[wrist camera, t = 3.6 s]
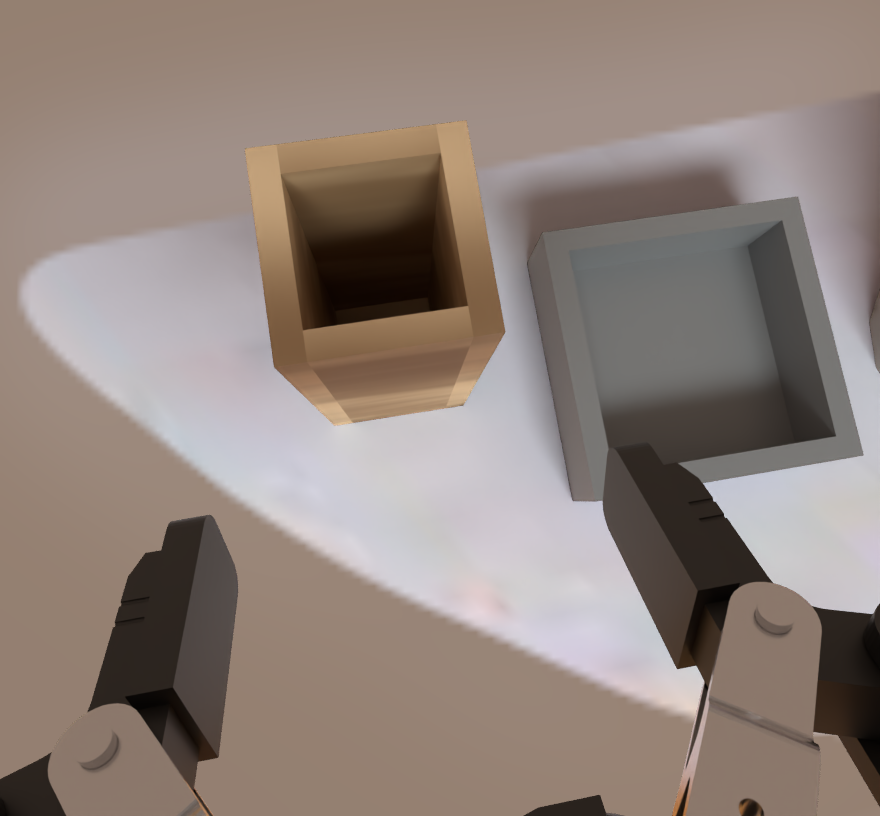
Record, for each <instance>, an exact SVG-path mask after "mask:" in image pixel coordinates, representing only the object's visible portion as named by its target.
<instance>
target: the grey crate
mask: <svg viewBox="0 0 880 816" xmlns="http://www.w3.org/2000/svg"><path fill="white" fill-rule="evenodd" d="M527 265H528V271H529V276H530V281H531V286H532V291H533V297H534V302H535V307H536V312H537V317H538V323H539V328H540V333H541V338H542V343H543V349H544V354H545V359H546V364H547V369H548V375H549V380H550V385H551V390H552V395H553V401H554V406H555V411H556V416H557V422H558V427H559V432H560V437H561V442H562V448H563V453H564V458H565V463H566V468H567V474H568V479H569V484H570V489H571V494H572V500H573V501H601V500H603V492H604V482H605V472H606V462H607V453H608V450H609V449H610V448H613V447H618V446H624V445H630V444H636V443H642V442H647V443H649V444H650V445H651V447H652V448H653V449H654V451H655V452H656V454H657V456H658V457H659V459H660V460H661V462H662V463H663V465H665V464H671V463H676V462H677V463H678V464H680V465H681V466H683V467H684V468H685V469H687V470H688V471H690V472H691V473H692V474H694V475H695V476H697V477H698V478H699V479H700V480H701V482H702V483H706V482H712V481H718V480H723V479H729V478H735V477H741V476H747V475H752V474H758V473H764V472H770V471H776V470H782V469H787V468H793V467H799V466H805V465H811V464H816V463H822V462H828V461H834V460H840V459H846V458H851V457H857V456H863V451H862V447H861V443H860V439H859V435H858V431H857V427H856V423H855V419H854V415H853V411H852V407H851V404H850V400H849V396H848V392H847V388H846V384H845V380H844V376H843V372H842V368H841V364H840V360H839V356H838V352H837V349H836V345H835V341H834V337H833V333H832V329H831V325H830V321H829V317H828V313H827V309H826V305H825V301H824V297H823V294H822V290H821V286H820V282H819V278H818V274H817V270H816V266H815V262H814V258H813V254H812V250H811V246H810V242H809V239H808V235H807V231H806V227H805V223H804V219H803V215H802V211H801V207H800V203H799V199H798V197H791V198H784V199H777V200H770V201H763V202H756V203H749V204H742V205H735V206H727V207H720V208H713V209H706V210H699V211H692V212H685V213H678V214H671V215H664V216H656V217H649V218H642V219H635V220H628V221H621V222H614V223H607V224H600V225H592V226H585V227H578V228H571V229H564V230H557V231H550V232H543V233H542V235H541V237H540V239H539V241H538V243H537V245H536V247H535V249H534V251H533V253H532V255H531V257H530V259H529V261H528V263H527Z"/></svg>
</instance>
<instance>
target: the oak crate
mask: <svg viewBox="0 0 880 816" xmlns="http://www.w3.org/2000/svg"><path fill="white" fill-rule="evenodd" d="M245 154H246V162H247V169H248V176H249V184H250V191H251V198H252V206H253V214H254V221H255V229H256V236H257V244H258V251H259V259H260V266H261V274H262V281H263V288H264V296H265V303H266V311H267V318H268V326H269V333H270V341H271V348H272V356H273V363H274V368H276V369H277V370H278V371H279V372H280V373H281V374H282V375H283V376H284V377H285V378H286V379H287V380H288V381H289V382H290V383H291V384H292V385H293V386H294V387H295V388H296V389H297V390H298V391H299V392H300V393H301V394H302V395H303V396H304V397H305V398H307V399H308V400H309V401H310V402H311V403H312V404H313V405H314V406H315V407H316V408H317V409H318V410H319V411H320V412H321V413H322V414H323V415H324V416H325V417H326V418H327V419H328V420H329V421H330V422H331V423H332V424H333V425H334V426H336V425H343V424H349V423H355V422H362V421H368V420H374V419H381V418H387V417H393V416H399V415H406V414H412V413H418V412H425V411H431V410H437V409H444V408H450V407H456V406H462V405H464V403H465V401H466V400H467V398H468V396H469V394H470V393H471V391H472V389H473V387H474V386H475V384H476V382H477V381H478V379H479V377H480V375H481V374H482V372H483V370H484V368H485V367H486V365H487V363H488V361H489V360H490V358H491V356H492V354H493V353H494V351H495V349H496V348H497V346H498V344H499V342H500V341H501V339H502V337H503V335H504V334H505V327H504V322H503V317H502V311H501V306H500V300H499V295H498V290H497V284H496V279H495V273H494V268H493V262H492V257H491V252H490V246H489V241H488V235H487V230H486V225H485V219H484V214H483V208H482V203H481V197H480V192H479V187H478V181H477V176H476V170H475V165H474V160H473V154H472V149H471V143H470V138H469V132H468V127H467V122H466V121H457V122H449V123H442V124H434V125H427V126H418V127H411V128H402V129H395V130H387V131H379V132H371V133H363V134H356V135H347V136H339V137H332V138H324V139H316V140H308V141H300V142H292V143H284V144H277V145H269V146H261V147H253V148H246V149H245Z"/></svg>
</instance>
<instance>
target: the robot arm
mask: <svg viewBox="0 0 880 816" xmlns="http://www.w3.org/2000/svg"><path fill="white" fill-rule="evenodd" d="M603 511H604V516H605V520H606V523H607V526H608V529H609V531H610V533H611V535H612V537H613V539H614V541H615V543H616V545H617V547H618V549H619V551H620V553H621V555H622V558H623V560H624V562H625V564H626V566H627V568H628V570H629V572H630V574H631V576H632V578H633V580H634V582H635V584H636V586H637V588H638V590H639V592H640V594H641V596H642V598H643V600H644V602H645V605H646V607H647V609H648V611H649V613H650V615H651V617H652V619H653V621H654V623H655V625H656V627H657V629H658V631H659V633H660V635H661V637H662V639H663V641H664V643H665V645H666V647H667V649H668V651H669V654H670V656H671V658H672V660H673V662H674V664H675V666H676V668H677V669H681V668H686V667H691V666H697V667H698V669H699V671H700V673H701V675H702V677H703V679H704V683H703V687H702V691H701V695H700V699H699V704H698V708H697V713H696V717H695V721H694V726H693V731H692V735H691V739H690V744H689V748H688V752H687V757H686V761H685V766H684V770H683V774H682V779H681V782H680V787H679V790H678V794H677V797H676V801H675V805H674V809H673V813H672V816H817V806H818V792H819V780H820V764H821V755H820V748H819V745H818V744H816V743H814V741H813V732H818V733H825V734H832V735H838V736H839V738H840V740H841V741H842V743H843V745H844V746H845V748H846V749H847V752H848V753H849V755H850V757H851V758H852V760H853V762H854V764H855V765H856V767H857V769H858V770H859V772H860V774H861V776H862V777H863V779H864V781H865V782H866V784H867V786H868V787H869V789H870V791H871V793H872V794H873V796H874V798H875V799H876V801H877V803H878V805H879V806H880V604H879V605H878V607H877V608H876V610H875V612H874V613H873V614H865V613H856V612H846V611H837V610H828V609H821V608H817V607H813V606H811V605H810V604H809V603H808V602H807V601H806V600H805V599H804V598H803V597H801V596H800V595H799V594H797V593H796V592H794V591H792V590H790V589H788V588H786V587H783V586H781V585H778V584H774V583H773V582H772V581H771V580H770V579H769V577H768V576H767V575H766V573H765V572H764V570H763V569H762V567H761V566H760V565H759V563H758V562H757V560H756V559H755V557H754V556H753V555H752V553H751V552H750V550H749V549H748V547H747V546H746V545H745V543H744V542H743V540H742V539H741V538H740V536H739V535H738V533H737V532H736V530H735V529H734V528H733V526H732V525H731V523H730V522H729V520H728V519H727V518H725V517H724V513H723V512H722V510H721V509H720V508H719V506H718V505H717V503H716V502H713V498H712V496H711V495H710V493H709V492H708V490H707V489H706V488H705V486H704V485H703V483H702V482H701V480H700V479H699V478H698V477H697V476H695V475H694V474H692V473H691V472H690V471H688V470H687V469H685V468H684V467H683V466H681V465H680V464H678V463H677V462H676V463H671V464H665V465H663V463H662V462H661V460H660V459H659V457H658V456H657V454H656V452H655V451H654V449H653V448H652V447H651V445H650V444H649V443H647V442H642V443H636V444H630V445H624V446H618V447H613V448H610V449H609V450H608V453H607V462H606V472H605V482H604V492H603ZM237 597H238V580H237V573H236V569H235V565H234V563H233V560H232V558H231V555H230V553H229V551H228V549H227V546H226V544H225V542H224V540H223V537H222V535H221V533H220V530H219V528H218V526H217V524H216V522H215V519H214V518H213V517H212V516H211V515H206V516H200V517H194V518H188V519H182V520H177V521H172V522H170V523H169V525H168V527H167V530H166V534H165V538H164V542H163V546H162V550H161V551H155V552H150V553H145V555H144V556H143V557H142V559H141V560H140V561H139V563H138V564H137V566H136V567H135V568H134V570H133V571H132V572H131V574H130V575H129V576H128V579H127V583H126V586H125V589H124V592H123V596H122V599H121V606H120V607H119V609H118V613H117V616H116V620H115V627H114V628H113V630H112V634H111V637H110V640H109V643H108V647H107V650H106V654H105V657H104V661H103V664H102V668H101V671H100V674H99V678H98V681H97V684H96V688H95V691H94V695H93V698H92V702H91V704H90V707H89V710H88V712H87V713H86V714H84V715H83V716H81V717H80V718H79V719H77V720H76V721H75V722H74V723H73V724H72V725H71V726H70V727H69V728H68V729H67V730H66V731H65V732H64V733H63V735H62V736H61V737H60V738H59V740H58V742H57V743H56V745H55V747H54V749H53V751H52V752H51V753H50V754H48V755H47V756H45V757H43V758H41V759H39V760H38V761H36V762H34V763H32V764H30V765H28V766H26V767H24V768H22V769H20V770H18V771H16V772H14V773H12V774H10V775H8V776H6V777H4V778H2V779H0V816H213V814H212V813H211V811H210V810H209V808H208V807H207V805H206V804H205V802H204V801H203V799H202V798H201V796H200V795H199V794H198V792H197V790H196V789H195V788H194V784H195V777H196V770H197V763H198V762H199V761H204V760H209V759H214V758H218V757H219V747H220V739H221V732H222V723H223V714H224V706H225V698H226V690H227V681H228V673H229V664H230V655H231V648H232V639H233V630H234V622H235V614H236V605H237ZM524 816H622V815H618V814H612V813H606V812H605V809H604V806H603V803H602V800H601V797H600V795H596V796H592V797H587V798H583V799H577V800H573V801H568V802H564V803H559V804H554V805H549V806H544V807H540V808H537V809H535V810H533V811H532V812H530V813H528V814H526V815H524Z"/></svg>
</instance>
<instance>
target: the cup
mask: <svg viewBox="0 0 880 816" xmlns="http://www.w3.org/2000/svg"><path fill="white" fill-rule="evenodd" d="M869 324H870V331H871V337H872V344H873V350H874V357H875V363H876V368H877V370H878V371H879V373H880V290H879V293H878V296H877V299H876V303H875V306H874V309H873V312H872V315H871V319H870V322H869Z"/></svg>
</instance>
